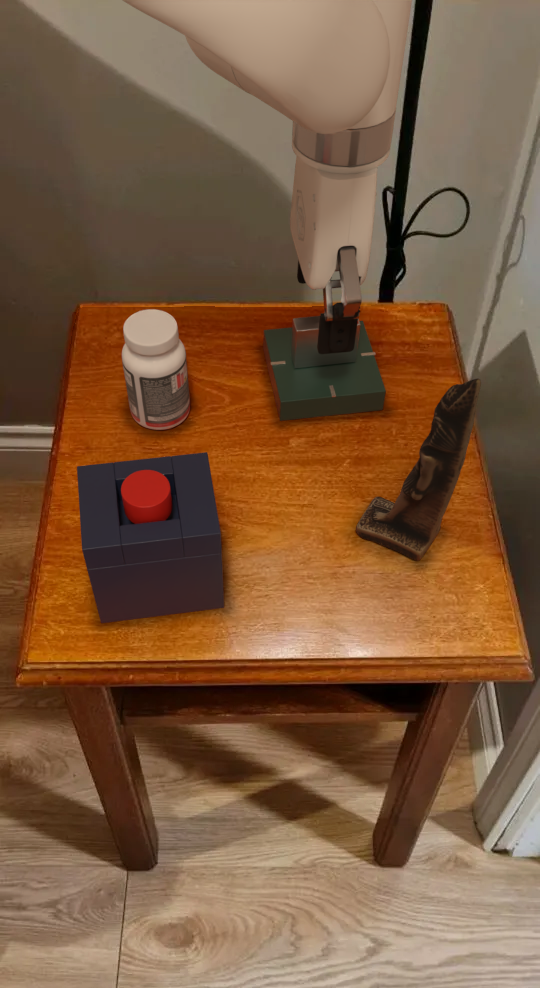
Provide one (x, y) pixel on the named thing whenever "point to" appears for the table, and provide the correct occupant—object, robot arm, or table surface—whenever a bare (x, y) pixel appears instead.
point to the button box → (151, 541)
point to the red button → (146, 497)
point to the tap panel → (322, 380)
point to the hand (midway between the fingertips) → (324, 314)
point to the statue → (426, 479)
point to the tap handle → (315, 345)
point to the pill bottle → (155, 370)
